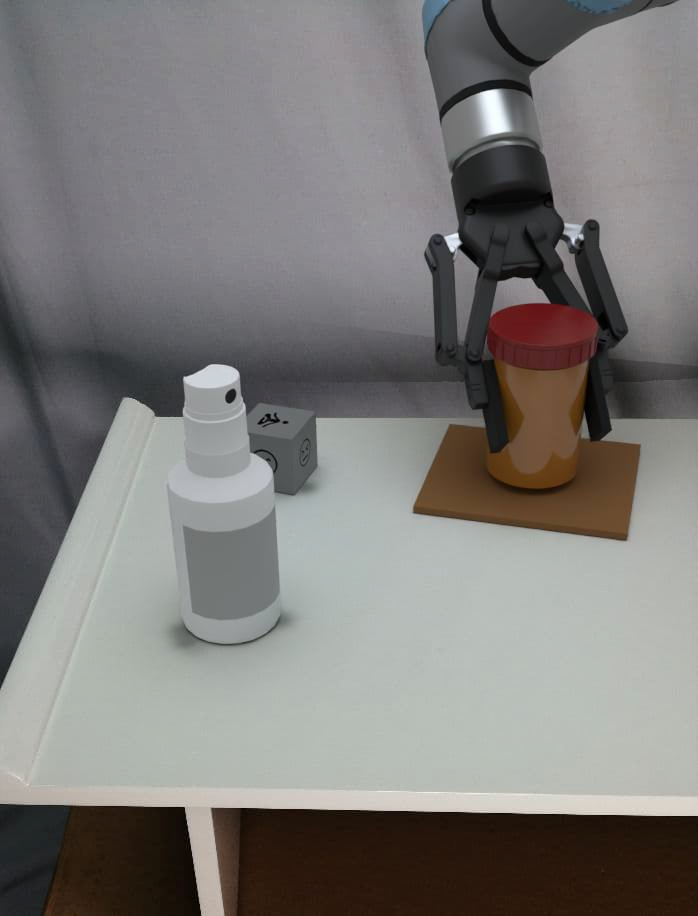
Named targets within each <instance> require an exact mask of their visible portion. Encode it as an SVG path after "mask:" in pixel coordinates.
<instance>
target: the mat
mask: <svg viewBox="0 0 698 916" xmlns="http://www.w3.org/2000/svg"><path fill="white" fill-rule="evenodd" d="M641 449H642V444H640V443H633V442H632V443H631V442H622V441H614V440H613V441H612V440H604V439H601V440H600V441H594V442H590V438H586V437H585V438H584V437H581V445H580V454H579V464H578V471H577V474H576V475H575V476H574V477H573V478H572V479H571V480H570V481H568V482H566V483H564V484H562V485H559V486H555V487H550V488H541V489H531V488H522V487H517V486H512V485H509V484H506V483H504V482H502V481H500V480H498V479H496V478H495V477H493V476H492V475H491V474H490V473H489V471H488V470H487V467H486V450H487V433H486V428H485V426H484V427H482V426H474V425H465V424H457V423H456V424H455V423H449V424H448V426H447V429H446V431H445V433H444V436H443V437H442V440H441V442H440V445H439V447H438V449H437V452H436V454H435V456H434V459H433V460H432V463H431V465H430V467H429V470H428V472H427V474H426V477H425V479H424V481H423V483H422V486H421V488H420V490H419V493H418V495H417V497H416V499H415V500H414V501H415V502H414V503H413V506H412V507H413V508H412V512H413V513H416V514H423V515H429V516H430V515H431V516H438V517H444V518H445V517H446V518H452V519H461V520H468V521H476V522H483V523H484V522H485V523H491V524H499V525H507V526H515V527H521V528H529V529H539V530H546V531H553V532H559V533H560V532H561V533H568V534H577V535H584V536H593V537H598V538H599V537H600V538H607V539H614V540H623V541H627V540H628V533H629V528H630V527H629V526H630V520H631V514H632V509H633V508H632V507H633V500H634V495H635V494H634V493H635V488H636V487H635V486H636V481H637V475H638V468H639V461H640V455H641Z"/></svg>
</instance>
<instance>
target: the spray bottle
mask: <svg viewBox="0 0 698 916" xmlns="http://www.w3.org/2000/svg"><path fill="white" fill-rule="evenodd" d="M182 378H183V379H182V381H183V382H182V383H183V391H184V405H183V406H184V407H183V408H182V419H183V427H184V428H183V429H184V430H183V431H184V452H185V458H183V459H182V460H180V461H179V462H177V463H176V464H175V465H174V467H173V468H172V469H171V470H170V472H169V473H168V475H167V482H166V492H167V500H168V509H169V518H170V526H171V535H172V536H171V537H172V543H173V544H172V545H173V552H174V560H175V569H176V576H177V577H176V578H177V587H178V595H179V604H180V612H181V618H182V621H183V624H184V625H185V628H186V629H187V630H188V631H189V632H190V633H191V634H192V635H194V636H195V637H196V638H199V639H201V640H203V641H206V642H208V643H215V644H221V645H230V644H231V645H233V644H241V643H245V642H246V643H247V642H250V641H254V640H256V639H257V638H259V637H262V636H263V635H266V634H267V633H269V632H270V631H271V629H273V628H274V627H275V626H276V625H277V622H278V620H279V618H280V616H281V614H282V602H281V601H282V600H281V583H280V581H281V580H280V567H279V566H280V565H279V549H278V531H277V529H278V528H277V515H276V495H275V491H274V477H273V471H272V469H271V467H270V466H269V464H268V463H267V462H266V461H265V460H264V459H262V458H260V457H259V456H257V455H256V454H253V453H250V443H249V435H248V434H247V420H246V416H247V407H246V403H244V400H243V396H242V388H241V376H240V372H239V371H238V369H236V368H234V367H232V366H230V365H226V364H217V363H215V364H214V363H213V364H209V365H207V366H205V367H204V368H203V369H200V370H198V371H197V372H195V373H193V374H190V375H187V376H183V377H182Z"/></svg>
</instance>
